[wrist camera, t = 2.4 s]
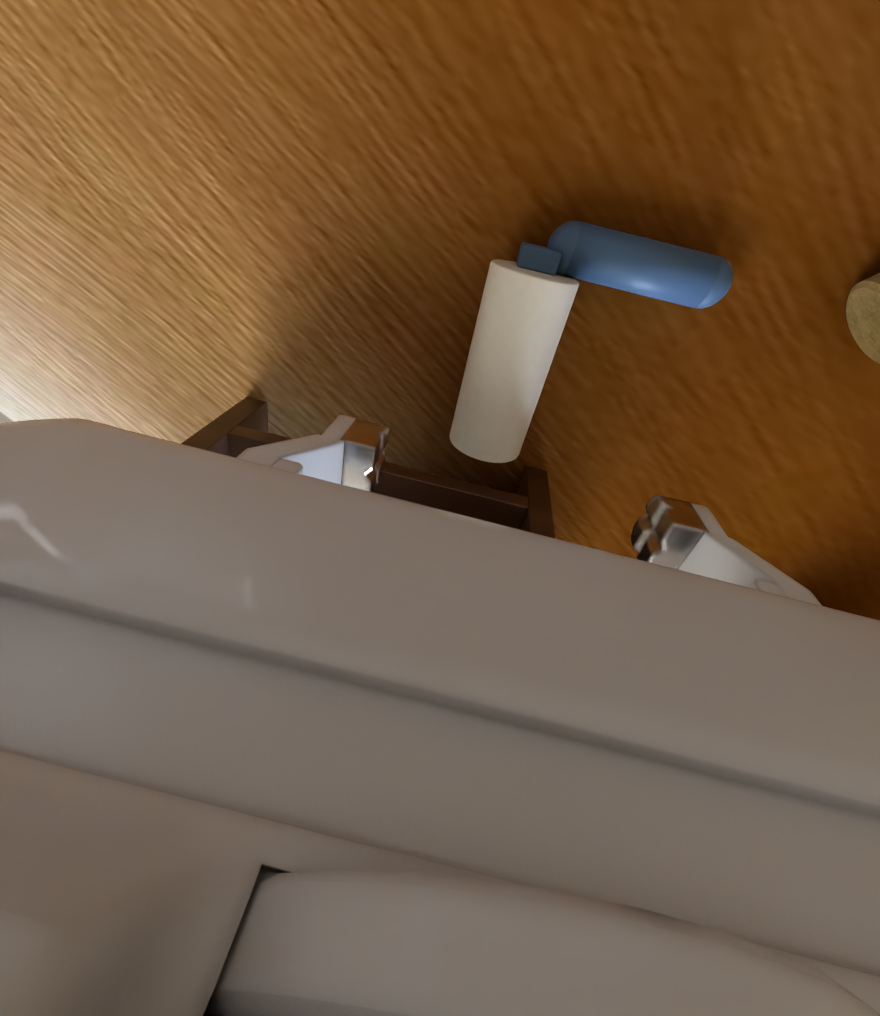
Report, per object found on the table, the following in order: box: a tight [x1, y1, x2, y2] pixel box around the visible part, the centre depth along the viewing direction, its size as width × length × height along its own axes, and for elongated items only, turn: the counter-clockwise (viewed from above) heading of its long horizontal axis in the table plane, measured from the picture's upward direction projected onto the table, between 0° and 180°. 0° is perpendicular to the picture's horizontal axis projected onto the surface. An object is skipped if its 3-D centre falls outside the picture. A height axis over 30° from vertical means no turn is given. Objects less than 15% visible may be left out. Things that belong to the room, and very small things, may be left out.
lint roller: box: [450, 221, 733, 463], centre depth 24 cm, size 12×12×5 cm
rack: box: [181, 397, 555, 538], centre depth 30 cm, size 14×22×12 cm, turn 79°
